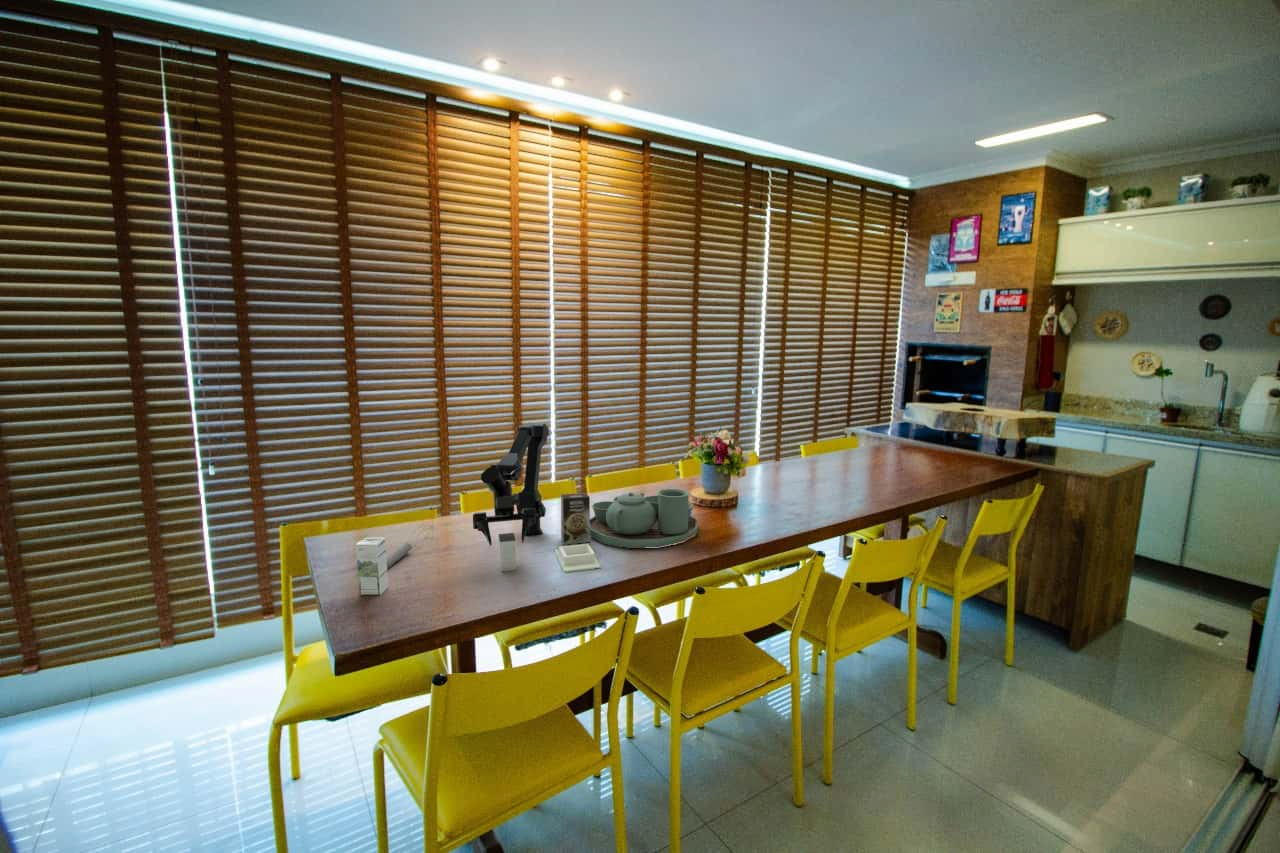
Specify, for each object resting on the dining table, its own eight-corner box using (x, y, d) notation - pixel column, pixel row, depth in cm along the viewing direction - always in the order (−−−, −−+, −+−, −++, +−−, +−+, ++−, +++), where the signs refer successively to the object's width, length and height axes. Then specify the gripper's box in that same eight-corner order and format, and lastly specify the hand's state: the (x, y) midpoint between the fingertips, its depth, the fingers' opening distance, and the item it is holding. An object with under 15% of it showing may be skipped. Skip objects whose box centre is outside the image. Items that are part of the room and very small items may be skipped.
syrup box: (389, 586, 157) (385, 536, 155) (380, 595, 151) (376, 543, 149) (368, 587, 157) (364, 536, 155) (358, 596, 151) (354, 544, 149)
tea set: (696, 516, 223) (697, 475, 220) (697, 552, 183) (698, 503, 181) (597, 514, 226) (596, 473, 224) (576, 549, 187) (575, 500, 185)
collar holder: (554, 551, 183) (554, 542, 183) (587, 548, 187) (587, 539, 186) (564, 572, 166) (564, 562, 166) (600, 568, 170) (600, 558, 169)
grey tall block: (499, 565, 172) (498, 534, 170) (514, 564, 173) (513, 532, 172) (500, 571, 168) (499, 538, 166) (516, 569, 169) (515, 537, 168)
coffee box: (563, 545, 189) (562, 498, 187) (561, 539, 195) (560, 493, 193) (590, 543, 192) (589, 496, 189) (587, 537, 198) (586, 492, 196)
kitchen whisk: (369, 573, 167) (367, 553, 166) (424, 536, 200) (423, 519, 199) (388, 574, 166) (387, 553, 165) (440, 537, 199) (440, 519, 199)
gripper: (471, 486, 169) (473, 534, 160) (534, 482, 174) (540, 527, 165) (472, 505, 177) (474, 551, 168) (532, 501, 182) (537, 545, 174)
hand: (506, 543), depth 168 cm, fingers open, 9 cm apart
